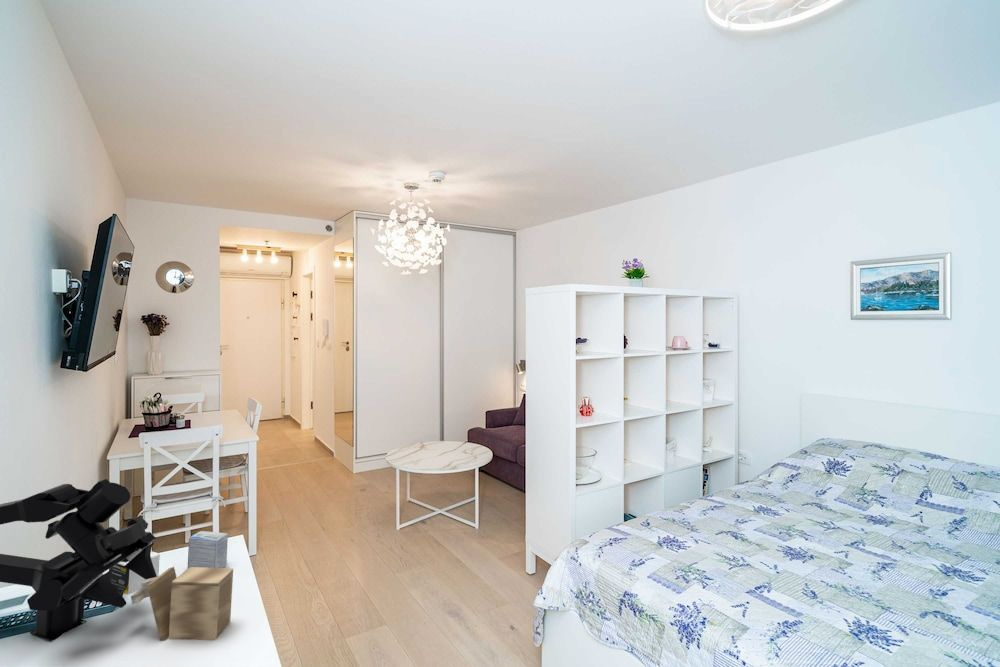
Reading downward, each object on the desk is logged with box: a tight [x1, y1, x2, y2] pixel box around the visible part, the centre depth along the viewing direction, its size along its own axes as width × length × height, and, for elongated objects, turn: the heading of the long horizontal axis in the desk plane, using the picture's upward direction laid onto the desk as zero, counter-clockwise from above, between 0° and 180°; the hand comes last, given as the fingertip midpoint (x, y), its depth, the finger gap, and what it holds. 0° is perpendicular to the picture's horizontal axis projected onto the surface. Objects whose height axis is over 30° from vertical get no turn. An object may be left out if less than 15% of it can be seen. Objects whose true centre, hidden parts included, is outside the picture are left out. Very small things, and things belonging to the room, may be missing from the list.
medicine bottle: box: [108, 544, 161, 595], centre depth 115 cm, size 7×7×12 cm
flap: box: [130, 566, 178, 641], centre depth 99 cm, size 5×7×11 cm
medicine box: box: [186, 530, 229, 570], centre depth 125 cm, size 8×4×9 cm, turn 84°
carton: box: [168, 567, 234, 641], centre depth 99 cm, size 9×6×12 cm, turn 93°
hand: (140, 593), depth 99 cm, fingers open, 9 cm apart
